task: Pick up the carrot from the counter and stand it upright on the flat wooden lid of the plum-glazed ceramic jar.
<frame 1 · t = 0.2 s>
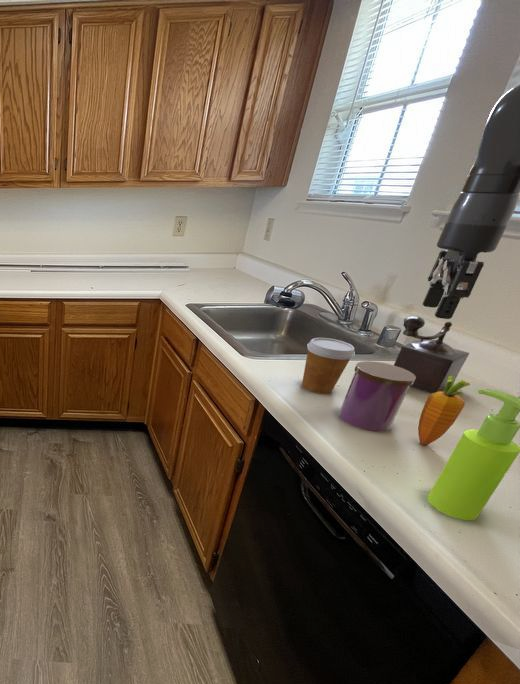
hand: (435, 312, 79), 25 cm above the countertop, tool pointing down, fingers open, 8 cm apart
soap dispenser: (446, 506, 67), on the countertop
disposable coffee cup: (316, 389, 104), on the countertop
carrot: (422, 445, 83), on the countertop
brown manual coffee grinder: (413, 384, 107), on the countertop
jar: (363, 421, 91), on the countertop
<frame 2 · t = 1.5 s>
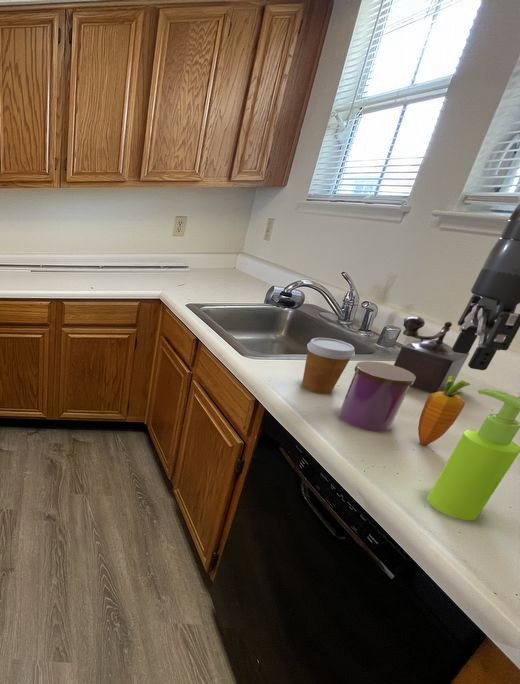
hand: (467, 360, 75), 18 cm above the countertop, tool pointing down, fingers open, 8 cm apart
nothing on the countertop moved.
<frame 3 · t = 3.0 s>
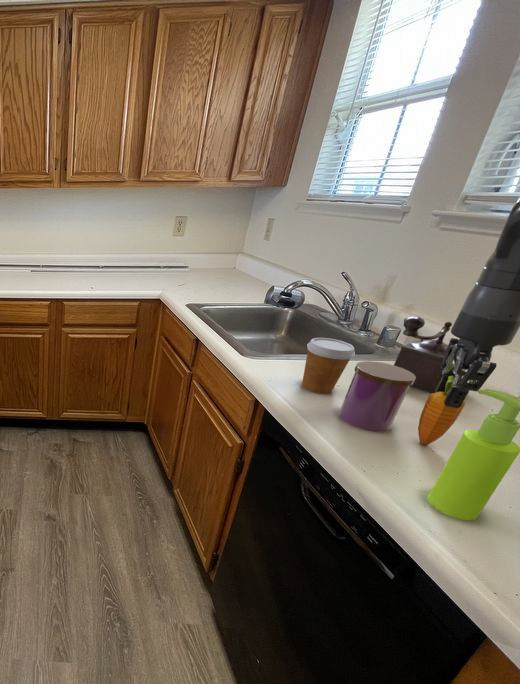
hand: (446, 399, 78), 10 cm above the countertop, tool pointing down, fingers closed on carrot, 4 cm apart
carrot: (422, 445, 83), on the countertop, touching gripper
everything else where it was.
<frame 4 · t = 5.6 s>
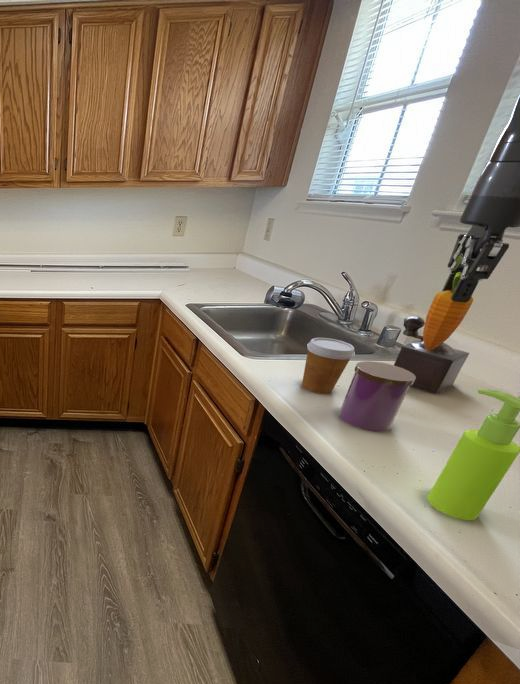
hand: (453, 297, 74), 29 cm above the countertop, tool pointing down, fingers closed on carrot, 4 cm apart
carrot: (427, 351, 79), point 18 cm above the countertop, touching gripper
everything else where it was.
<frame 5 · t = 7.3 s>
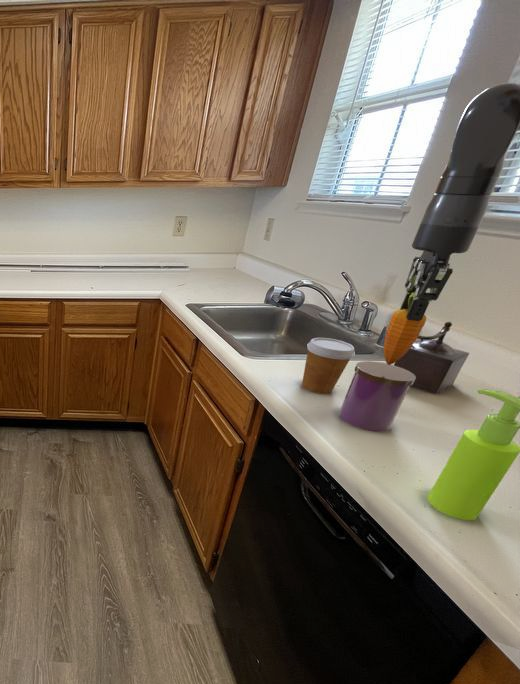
hand: (409, 315, 80), 24 cm above the countertop, tool pointing down, fingers closed on carrot, 4 cm apart
carrot: (388, 365, 85), point 13 cm above the countertop, touching gripper
everything else where it was.
when the fingers open (23 cm above the countertop, at t = 8.2 s): carrot stays where it is, resting on jar.
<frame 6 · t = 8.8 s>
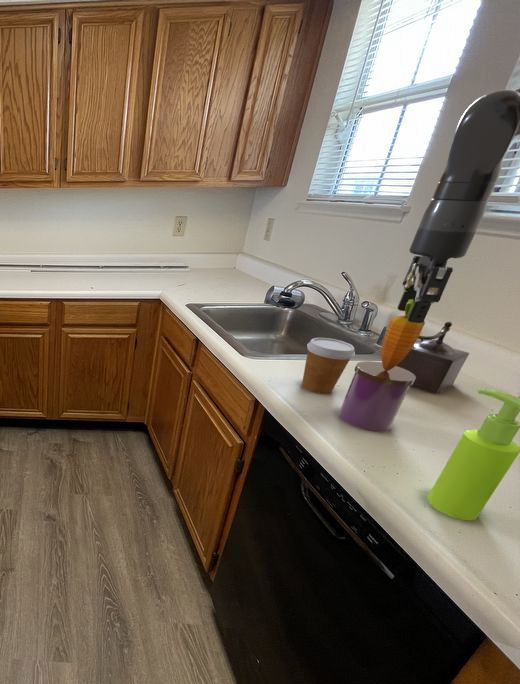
hand: (408, 316, 80), 24 cm above the countertop, tool pointing down, fingers open, 8 cm apart
carrot: (385, 371, 85), point 12 cm above the countertop, touching jar
jar: (363, 421, 91), on the countertop, touching carrot
everything else where it was.
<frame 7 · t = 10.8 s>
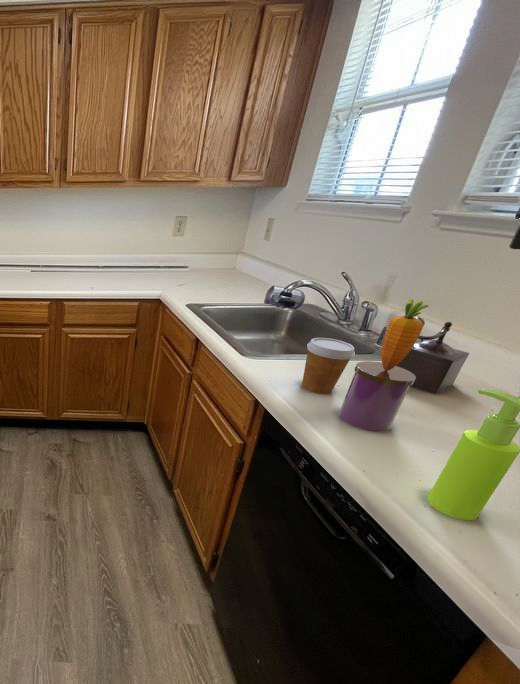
nothing on the countertop moved.
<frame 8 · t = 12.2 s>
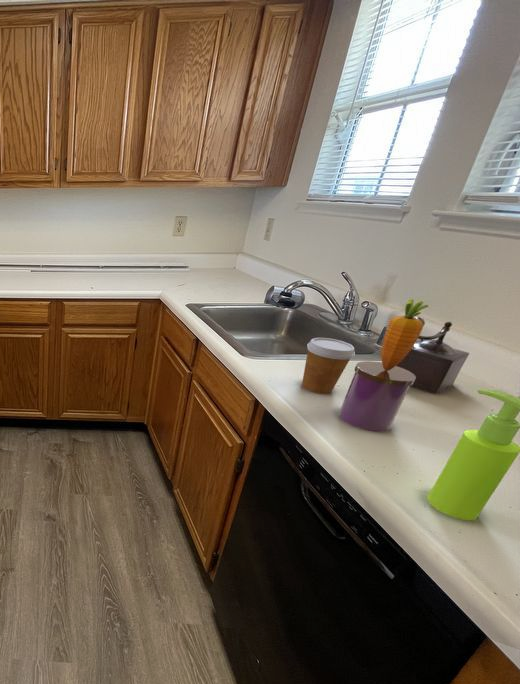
nothing on the countertop moved.
at the end: carrot 0.1 cm off-centre on the jar, point 12.0 cm above the jar's base; carrot tilted 0°; the gripper is holding nothing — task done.
